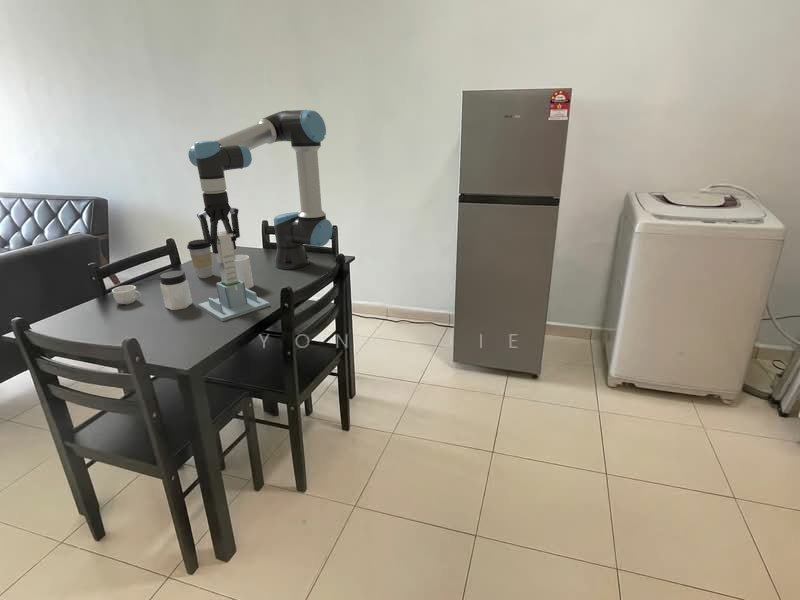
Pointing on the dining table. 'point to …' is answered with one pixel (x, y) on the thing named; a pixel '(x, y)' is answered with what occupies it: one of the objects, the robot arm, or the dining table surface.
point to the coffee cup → (201, 257)
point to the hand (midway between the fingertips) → (226, 260)
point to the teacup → (125, 294)
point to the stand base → (232, 302)
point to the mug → (244, 270)
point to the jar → (175, 290)
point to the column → (227, 259)
